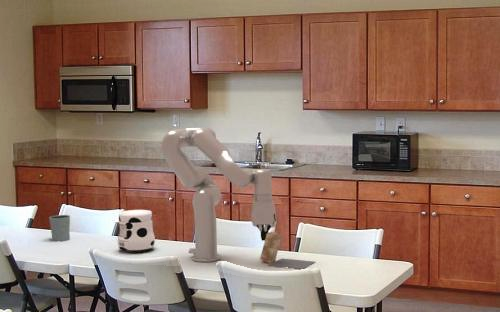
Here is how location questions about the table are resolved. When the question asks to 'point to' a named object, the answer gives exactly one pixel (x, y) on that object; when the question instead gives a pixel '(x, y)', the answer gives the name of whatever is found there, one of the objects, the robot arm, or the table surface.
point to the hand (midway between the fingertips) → (264, 239)
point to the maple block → (270, 247)
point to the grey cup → (60, 227)
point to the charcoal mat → (291, 263)
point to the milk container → (135, 231)
